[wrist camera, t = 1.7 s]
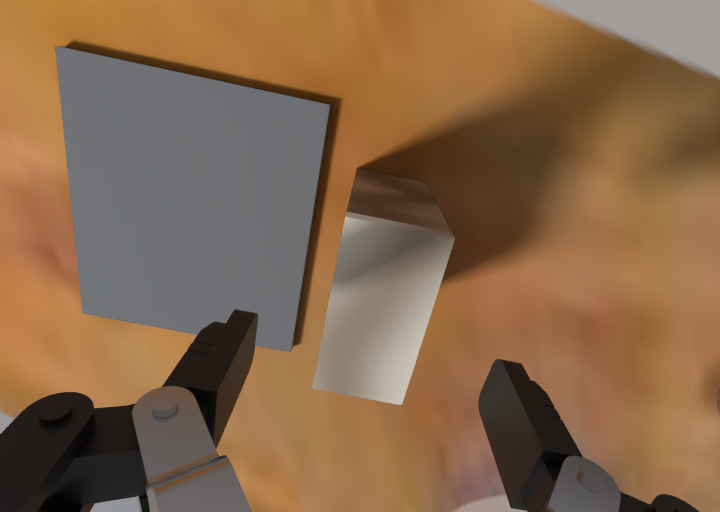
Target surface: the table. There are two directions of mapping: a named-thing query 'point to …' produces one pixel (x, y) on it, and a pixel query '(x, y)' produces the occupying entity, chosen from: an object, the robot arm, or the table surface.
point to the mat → (188, 195)
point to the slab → (382, 287)
